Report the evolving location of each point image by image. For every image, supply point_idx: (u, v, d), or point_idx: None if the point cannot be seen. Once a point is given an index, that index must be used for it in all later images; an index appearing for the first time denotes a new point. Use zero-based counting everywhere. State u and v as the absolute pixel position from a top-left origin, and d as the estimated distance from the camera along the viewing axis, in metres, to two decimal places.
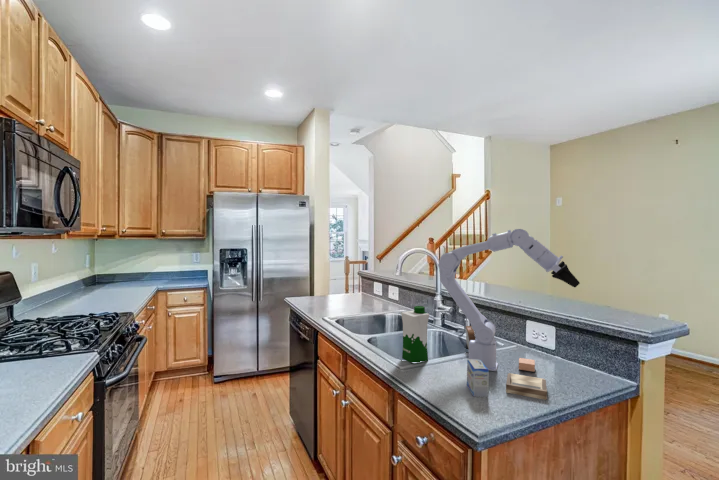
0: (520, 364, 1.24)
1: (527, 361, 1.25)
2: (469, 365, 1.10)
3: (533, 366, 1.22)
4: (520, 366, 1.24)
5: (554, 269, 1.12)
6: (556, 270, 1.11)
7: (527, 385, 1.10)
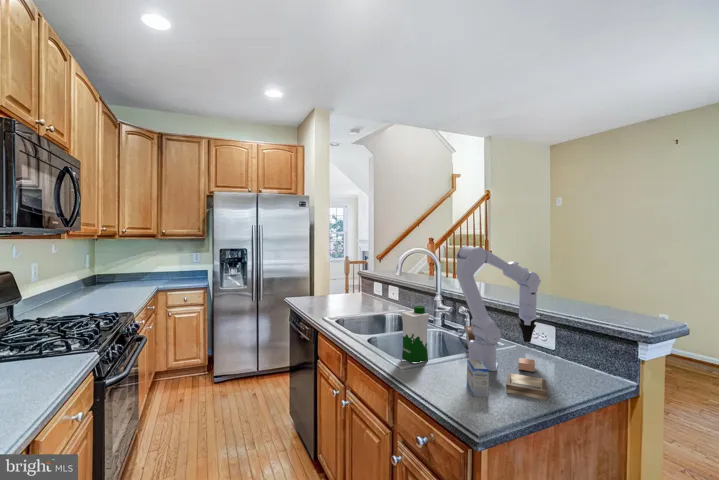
0: (520, 364, 1.24)
1: (527, 361, 1.25)
2: (469, 365, 1.10)
3: (533, 366, 1.22)
4: (520, 366, 1.24)
5: (525, 321, 1.26)
6: (526, 323, 1.26)
7: (527, 385, 1.10)
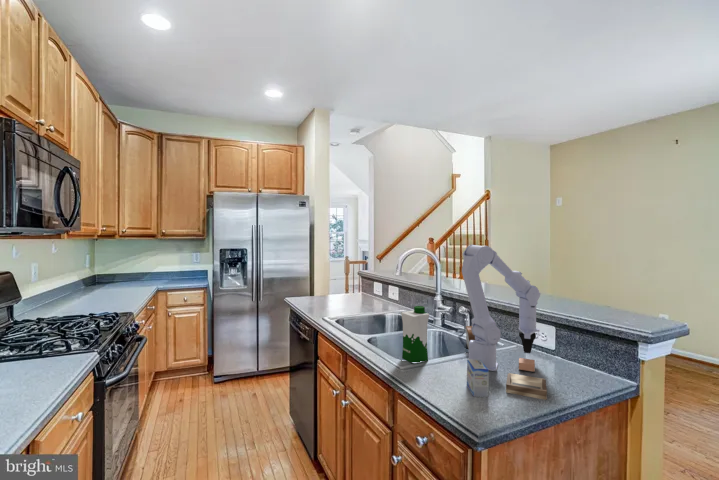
0: (520, 364, 1.24)
1: (527, 361, 1.25)
2: (469, 365, 1.10)
3: (533, 366, 1.22)
4: (520, 366, 1.24)
5: (525, 335, 1.26)
6: (526, 337, 1.26)
7: (527, 385, 1.10)
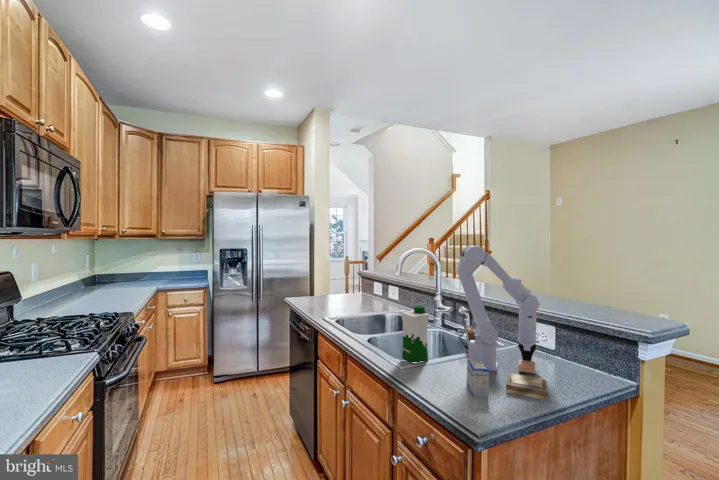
0: (520, 366, 1.22)
1: (527, 363, 1.23)
2: (469, 365, 1.10)
3: (533, 368, 1.20)
4: (520, 368, 1.22)
5: (525, 347, 1.20)
6: (525, 349, 1.20)
7: (527, 385, 1.10)
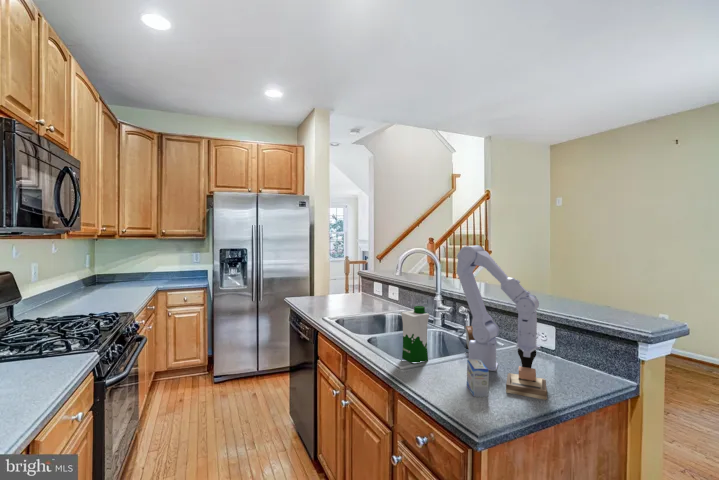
0: (520, 372, 1.14)
1: (527, 369, 1.16)
2: (469, 365, 1.10)
3: (534, 375, 1.13)
4: (520, 374, 1.14)
5: (524, 353, 1.13)
6: (525, 355, 1.13)
7: (527, 385, 1.10)
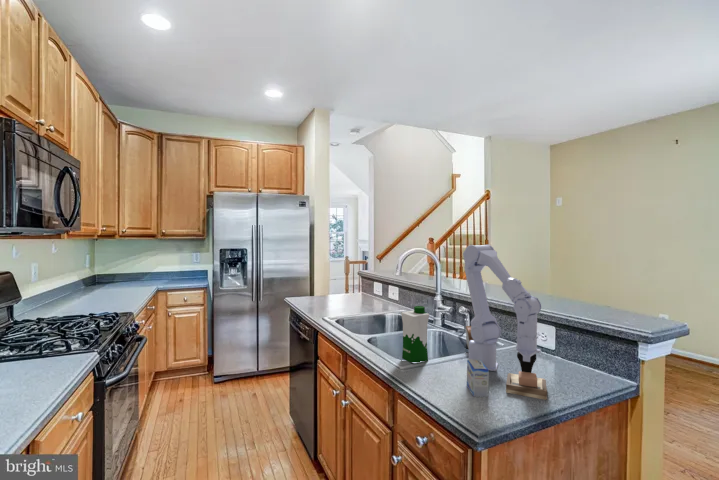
0: (521, 379, 1.09)
1: (528, 375, 1.11)
2: (469, 365, 1.10)
3: (535, 381, 1.08)
4: (521, 381, 1.09)
5: (524, 357, 1.08)
6: (525, 360, 1.08)
7: None
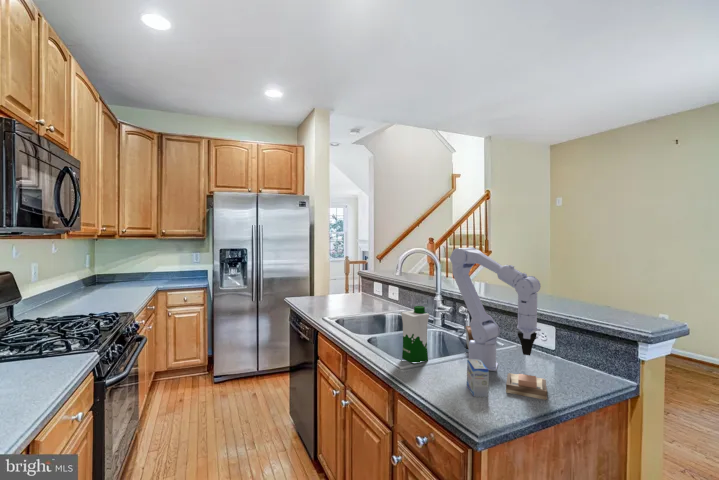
0: (520, 382, 1.07)
1: (528, 378, 1.08)
2: (469, 365, 1.10)
3: (535, 384, 1.06)
4: (520, 384, 1.07)
5: (524, 335, 1.10)
6: (525, 337, 1.10)
7: None
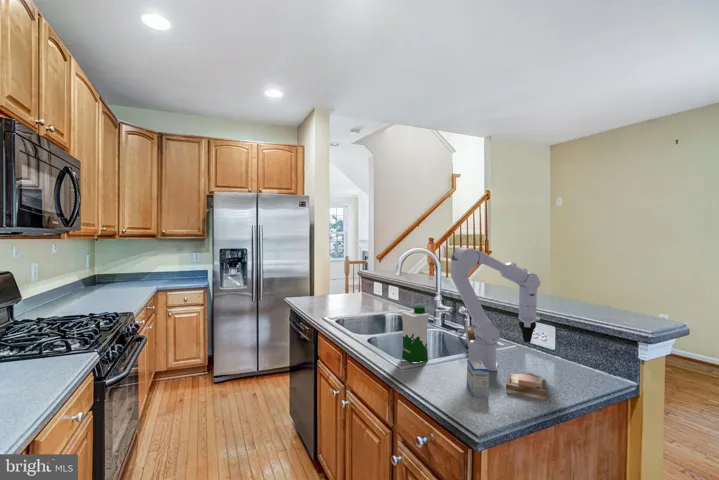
0: (520, 382, 1.07)
1: (528, 378, 1.08)
2: (469, 365, 1.10)
3: (535, 384, 1.06)
4: (520, 384, 1.07)
5: (525, 324, 1.23)
6: (526, 325, 1.23)
7: None
